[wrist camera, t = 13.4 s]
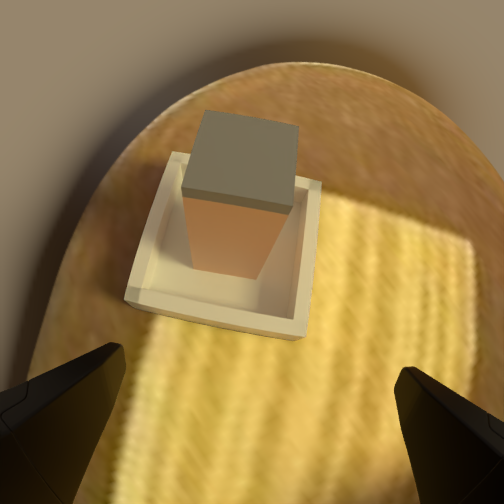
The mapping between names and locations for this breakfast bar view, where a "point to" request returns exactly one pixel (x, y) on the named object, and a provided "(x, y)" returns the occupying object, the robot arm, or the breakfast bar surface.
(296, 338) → the tray
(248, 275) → the grey-topped orange box
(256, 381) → the breakfast bar surface
